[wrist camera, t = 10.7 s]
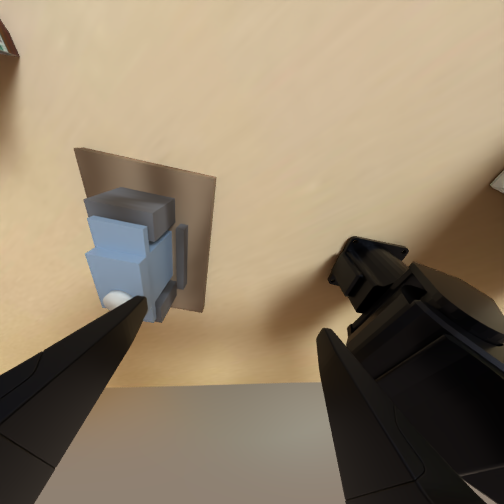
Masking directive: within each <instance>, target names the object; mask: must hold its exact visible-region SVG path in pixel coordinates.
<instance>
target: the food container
mask: <svg viewBox="0 0 504 504" xmlns="http://www.w3.org/2000/svg"><path fill="white" fill-rule="evenodd" d="M0 54H4V55H10V56H16V57H20V56H19V54H18V52H17V49H16V47H15V45H14V43H13V40H12V38H11V36H10V34H9V32H8V30H7V29H6V27H5V26H4V24H3V22H2V21H1V19H0Z"/></svg>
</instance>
